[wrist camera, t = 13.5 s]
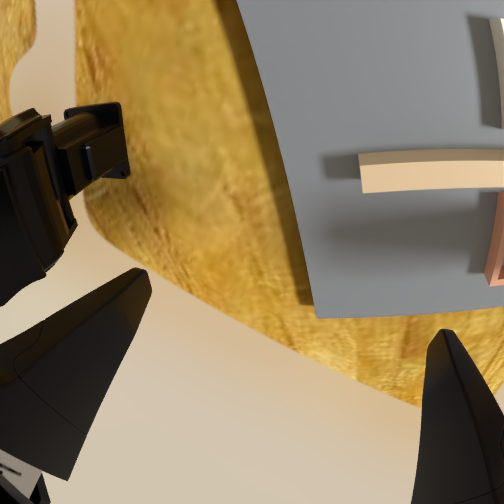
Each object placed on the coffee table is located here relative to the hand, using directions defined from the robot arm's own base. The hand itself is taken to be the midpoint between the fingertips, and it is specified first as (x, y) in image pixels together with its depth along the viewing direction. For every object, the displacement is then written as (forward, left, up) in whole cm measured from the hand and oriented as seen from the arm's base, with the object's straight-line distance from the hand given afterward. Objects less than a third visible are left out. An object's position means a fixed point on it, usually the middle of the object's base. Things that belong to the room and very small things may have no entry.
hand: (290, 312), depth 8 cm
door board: (+8, +2, -13) cm, 15 cm away
